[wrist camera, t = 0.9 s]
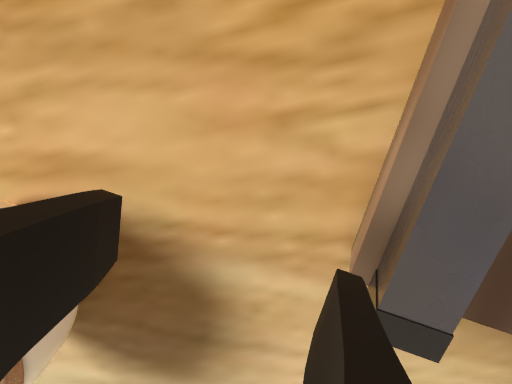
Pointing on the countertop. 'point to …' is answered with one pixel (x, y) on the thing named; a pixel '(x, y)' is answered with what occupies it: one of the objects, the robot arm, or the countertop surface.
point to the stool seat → (413, 152)
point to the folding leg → (454, 202)
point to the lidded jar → (39, 347)
